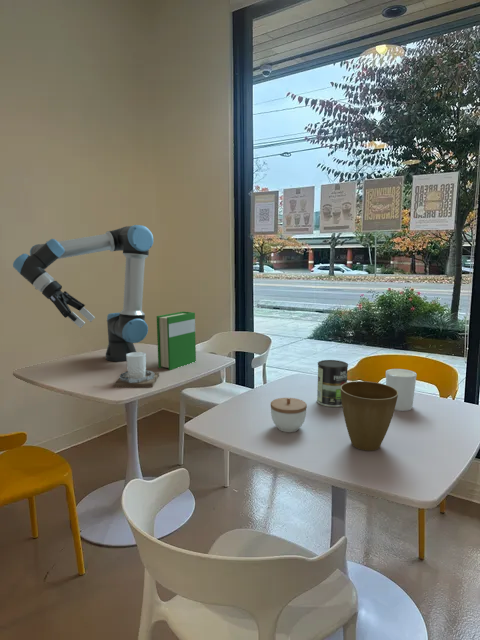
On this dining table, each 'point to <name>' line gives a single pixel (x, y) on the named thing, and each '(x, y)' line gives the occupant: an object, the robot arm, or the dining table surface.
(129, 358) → the white cup
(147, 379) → the ring holder
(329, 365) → the coffee can
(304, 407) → the lidded jar
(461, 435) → the dining table surface
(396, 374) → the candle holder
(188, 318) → the hardback book
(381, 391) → the plant pot
